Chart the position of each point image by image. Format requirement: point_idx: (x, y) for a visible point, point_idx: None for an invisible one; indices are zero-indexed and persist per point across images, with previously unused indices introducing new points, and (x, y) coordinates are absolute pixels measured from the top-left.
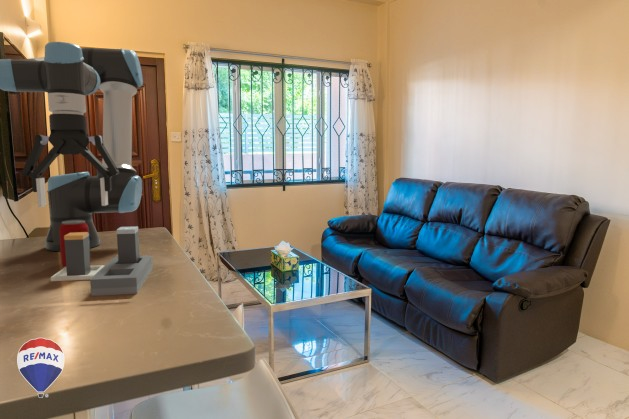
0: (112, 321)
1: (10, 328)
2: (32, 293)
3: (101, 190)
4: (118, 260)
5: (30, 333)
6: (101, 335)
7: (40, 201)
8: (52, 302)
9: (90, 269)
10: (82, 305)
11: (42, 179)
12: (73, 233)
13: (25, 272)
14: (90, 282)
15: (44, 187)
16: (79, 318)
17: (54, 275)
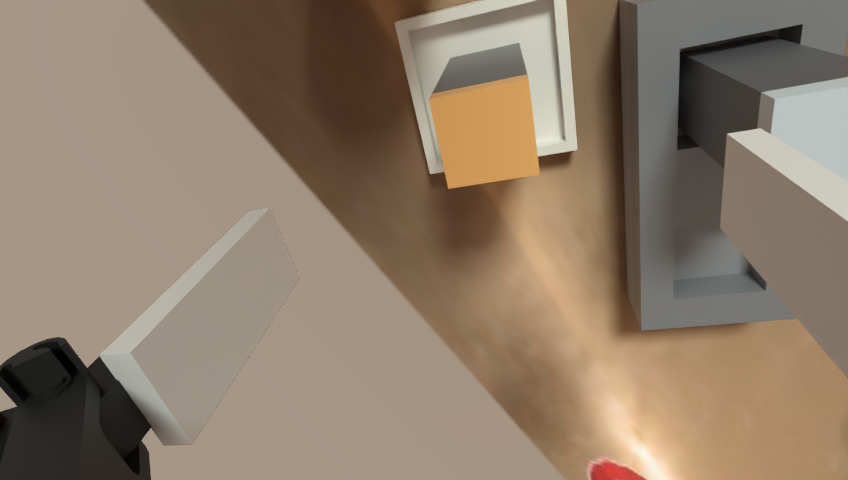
0: (724, 417)
1: (526, 426)
2: (436, 251)
3: (796, 308)
4: (694, 140)
5: (577, 445)
6: (716, 463)
7: (280, 302)
8: (533, 314)
9: (504, 8)
10: (621, 336)
11: (168, 385)
12: (462, 124)
13: (236, 19)
14: (639, 325)
15: (201, 301)
16: (644, 399)
17: (430, 152)
